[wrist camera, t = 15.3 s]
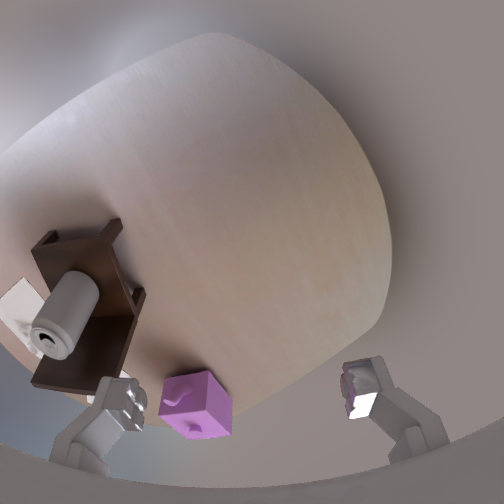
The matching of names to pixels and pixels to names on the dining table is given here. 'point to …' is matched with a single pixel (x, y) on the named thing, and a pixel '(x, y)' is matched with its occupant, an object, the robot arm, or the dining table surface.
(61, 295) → the beverage can
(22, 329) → the teacup and saucer
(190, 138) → the dining table surface
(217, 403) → the teapot
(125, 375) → the napkin holder
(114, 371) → the wooden doll chair
